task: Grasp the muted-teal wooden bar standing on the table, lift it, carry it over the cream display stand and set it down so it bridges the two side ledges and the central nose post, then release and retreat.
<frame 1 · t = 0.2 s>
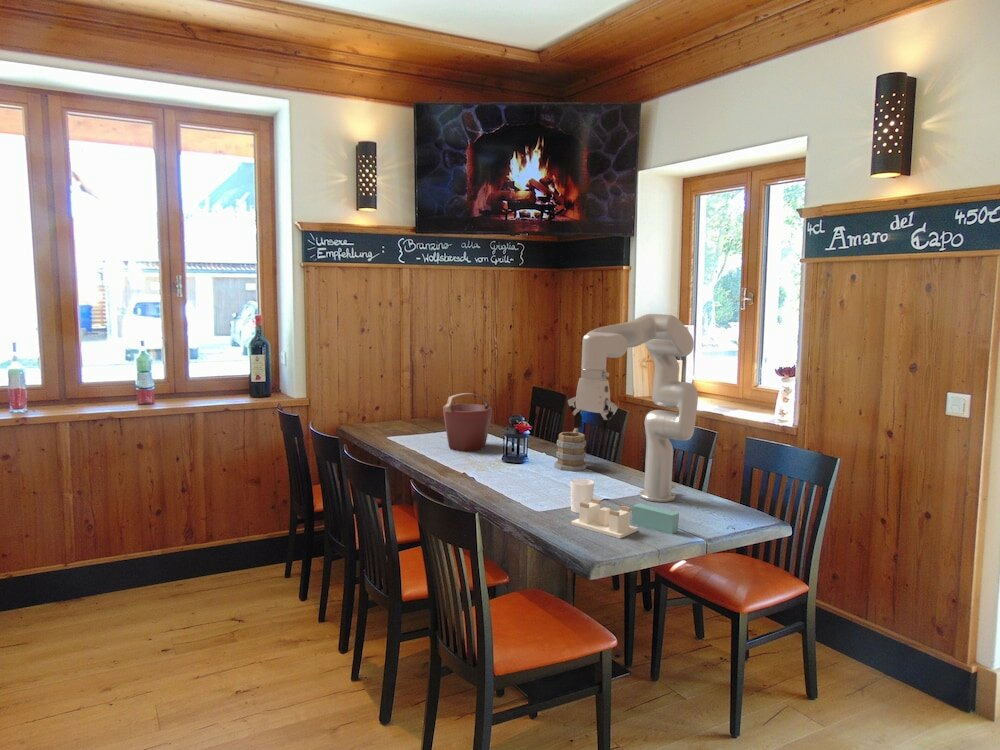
hand: (591, 429, 224), 31 cm above the table, fingers open, 9 cm apart
tankard: (572, 465, 305), on the table
display stand: (603, 527, 226), on the table
white cup: (581, 511, 243), on the table
teal bar: (654, 527, 228), on the table
bucket: (465, 447, 334), on the table
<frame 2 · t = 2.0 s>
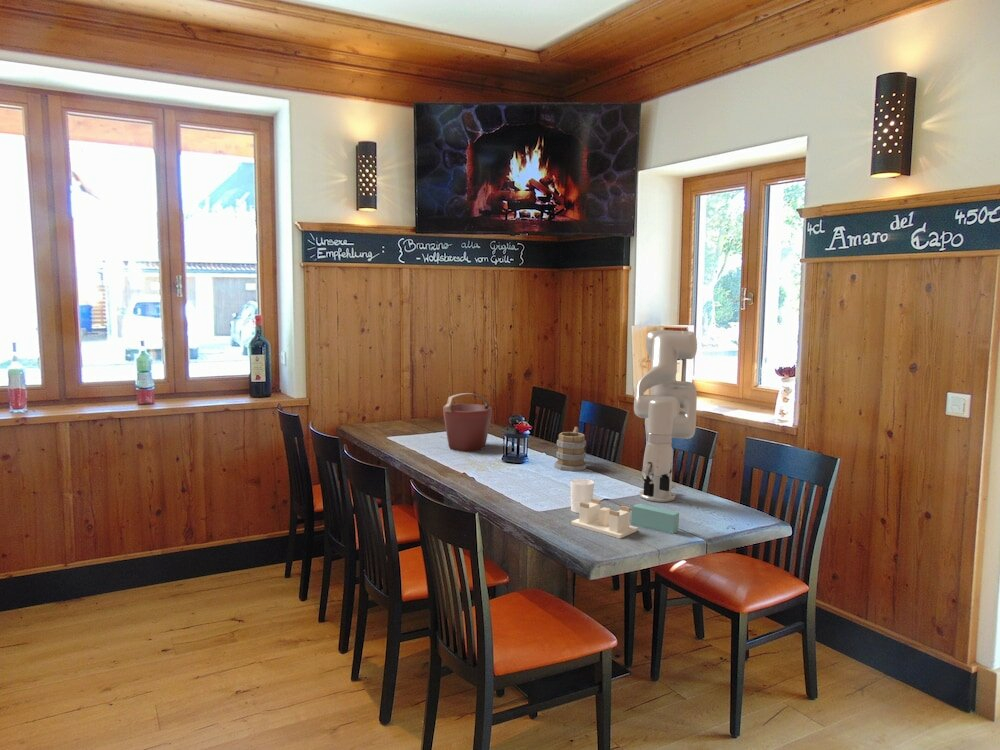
hand: (656, 493, 226), 11 cm above the table, fingers open, 9 cm apart
nothing on the table moved.
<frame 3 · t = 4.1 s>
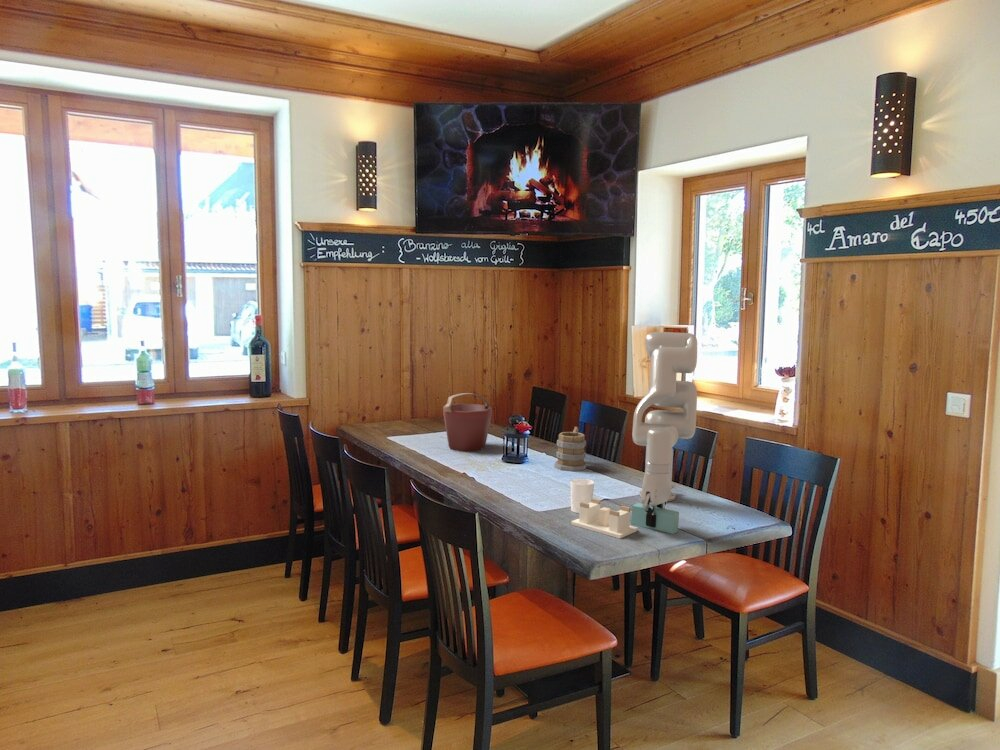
hand: (654, 524, 228), 1 cm above the table, fingers closed on teal bar, 4 cm apart
teal bar: (654, 527, 228), on the table, touching gripper
everything else where it was.
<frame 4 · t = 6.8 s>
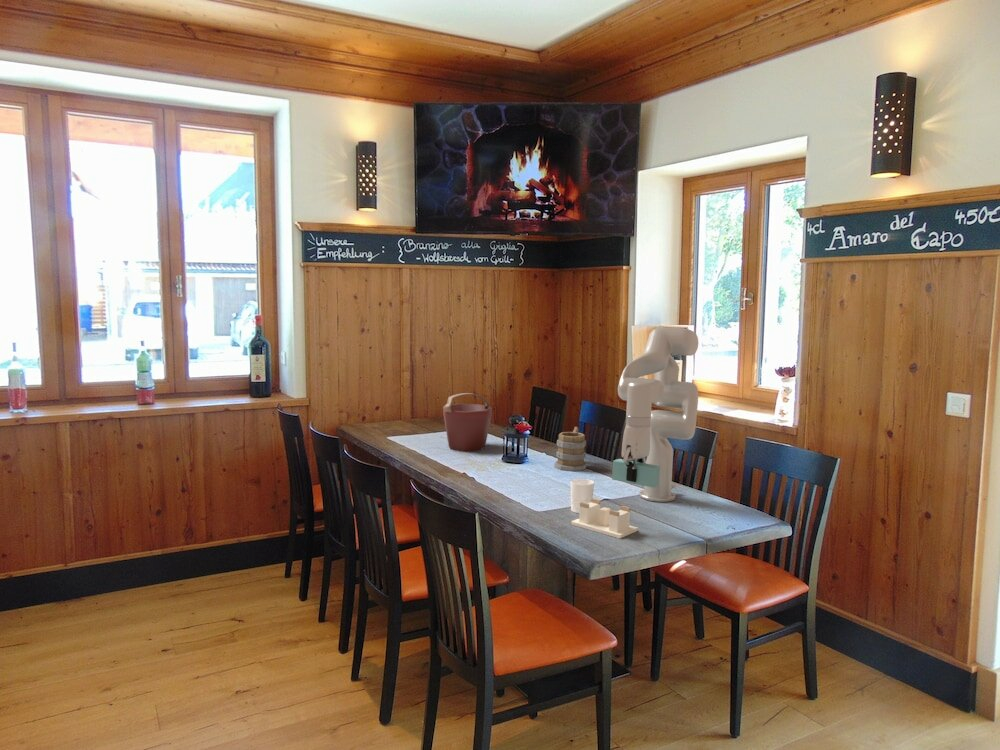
hand: (635, 479, 225), 16 cm above the table, fingers closed on teal bar, 4 cm apart
teal bar: (635, 482, 225), point 15 cm above the table, touching gripper
everything else where it was.
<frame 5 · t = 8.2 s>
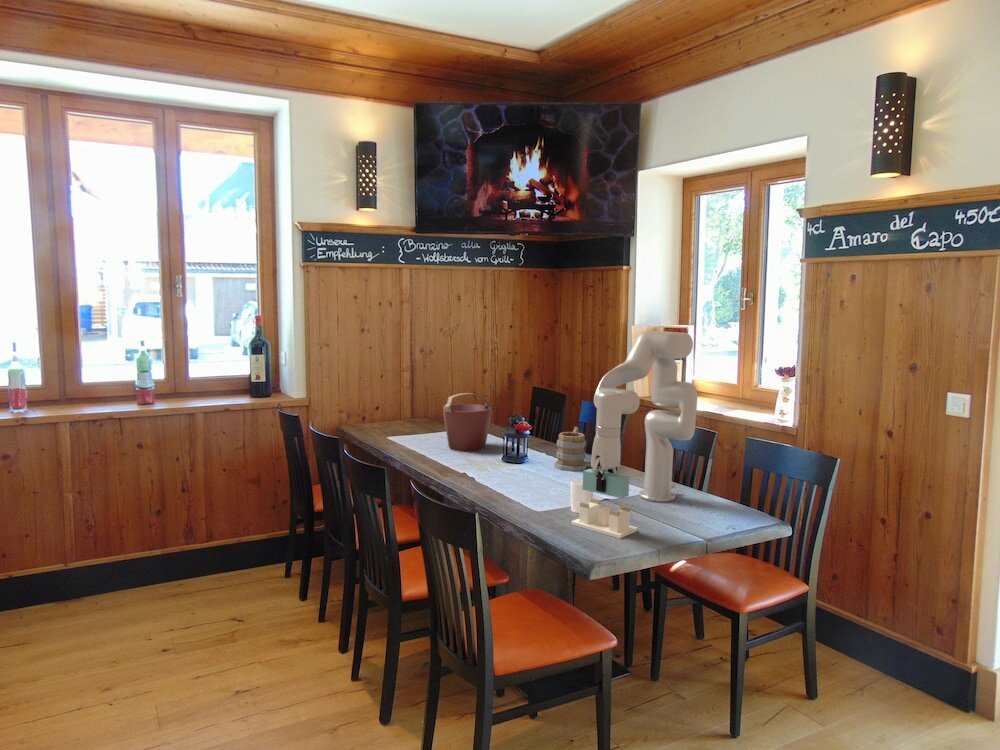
hand: (605, 489, 225), 12 cm above the table, fingers closed on teal bar, 4 cm apart
teal bar: (605, 492, 225), point 11 cm above the table, touching gripper
everything else where it was.
when the fingers open (8 cm above the table, at t = 9.6 s): teal bar stays where it is, resting on display stand.
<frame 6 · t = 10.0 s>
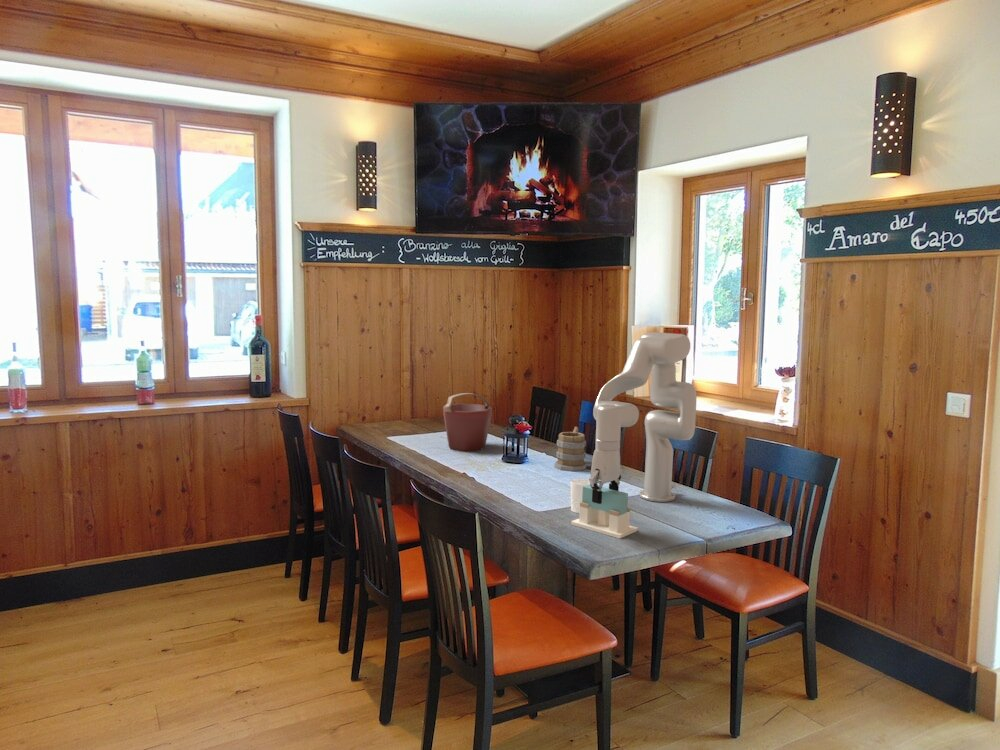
hand: (605, 499, 225), 9 cm above the table, fingers open, 8 cm apart
teal bar: (604, 508, 226), point 6 cm above the table, touching display stand
everything else where it was.
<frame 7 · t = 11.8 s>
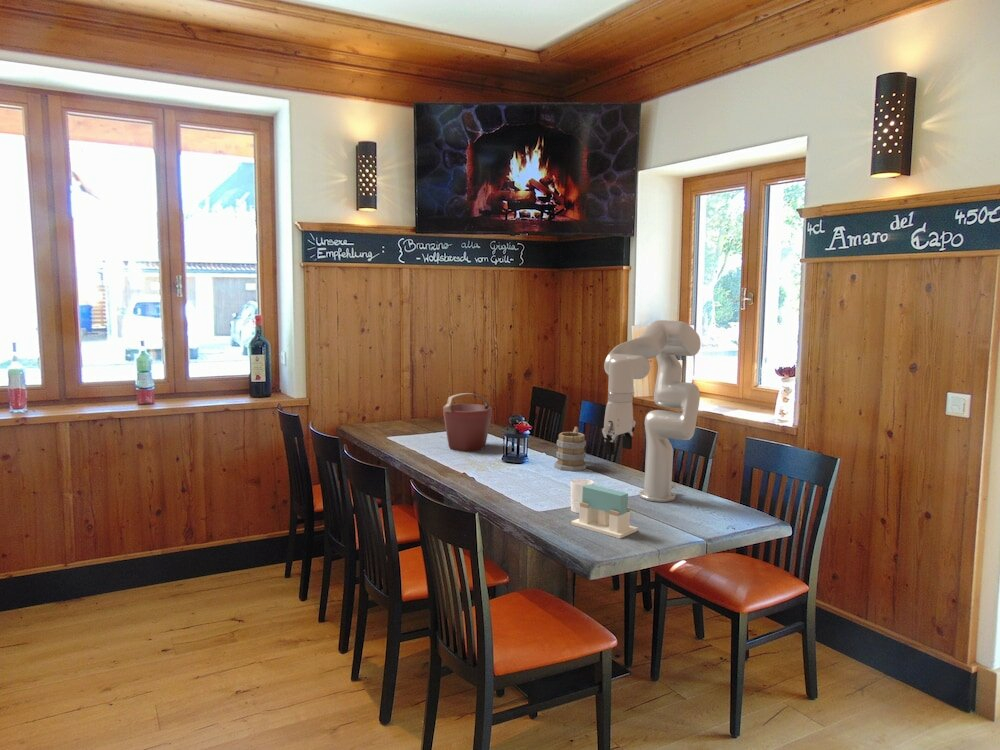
hand: (618, 451, 227), 24 cm above the table, fingers open, 9 cm apart
nothing on the table moved.
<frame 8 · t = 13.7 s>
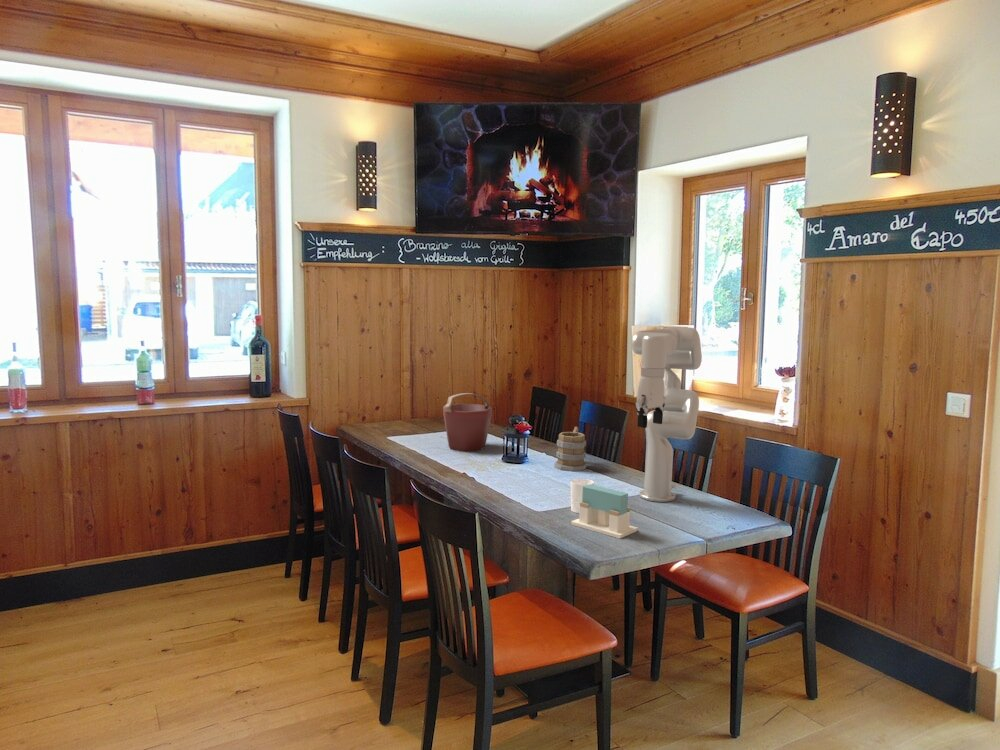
hand: (649, 425, 236), 30 cm above the table, fingers open, 9 cm apart
nothing on the table moved.
at the end: teal bar 0.2 cm off-centre on the display stand, point 6.0 cm above the display stand's base; teal bar tilted 0°; the gripper is holding nothing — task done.
